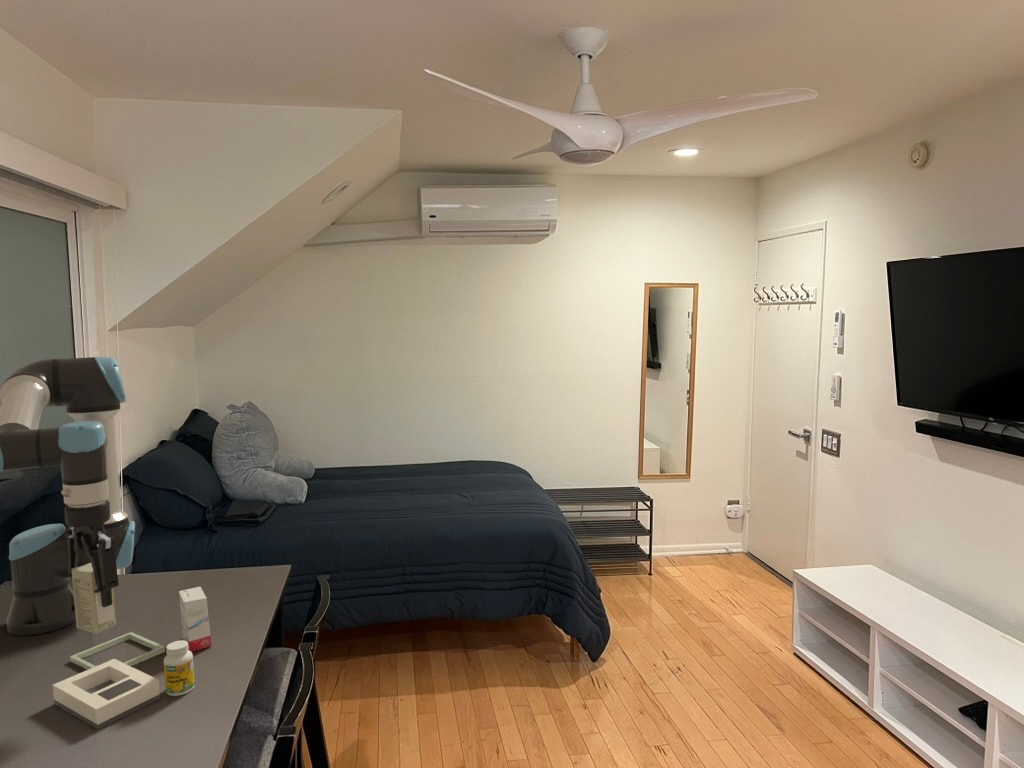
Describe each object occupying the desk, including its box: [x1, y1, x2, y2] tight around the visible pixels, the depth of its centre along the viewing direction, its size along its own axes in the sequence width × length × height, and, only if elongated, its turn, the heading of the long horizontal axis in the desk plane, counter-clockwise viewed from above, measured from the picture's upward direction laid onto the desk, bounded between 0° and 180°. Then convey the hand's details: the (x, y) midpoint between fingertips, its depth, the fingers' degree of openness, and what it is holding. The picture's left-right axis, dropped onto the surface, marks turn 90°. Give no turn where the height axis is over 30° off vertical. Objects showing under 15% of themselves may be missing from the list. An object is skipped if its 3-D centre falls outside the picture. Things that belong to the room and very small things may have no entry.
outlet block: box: [52, 658, 161, 731], centre depth 140 cm, size 16×12×4 cm
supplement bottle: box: [163, 639, 196, 697], centre depth 144 cm, size 5×5×10 cm
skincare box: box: [71, 563, 117, 634], centre depth 139 cm, size 6×4×12 cm
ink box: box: [178, 586, 212, 653], centre depth 163 cm, size 9×5×12 cm, turn 33°
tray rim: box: [69, 631, 166, 670], centre depth 158 cm, size 14×14×1 cm
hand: (95, 616), depth 139 cm, fingers closed on skincare box, 6 cm apart
